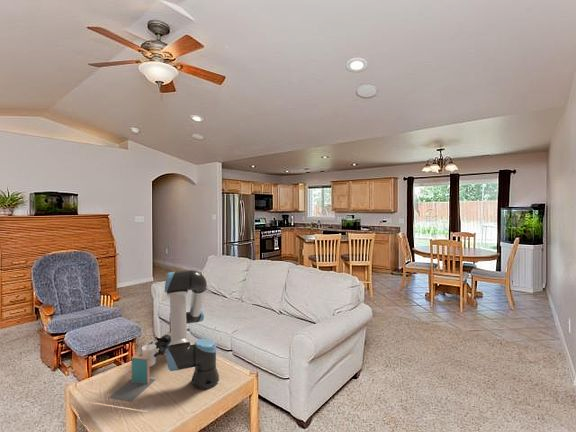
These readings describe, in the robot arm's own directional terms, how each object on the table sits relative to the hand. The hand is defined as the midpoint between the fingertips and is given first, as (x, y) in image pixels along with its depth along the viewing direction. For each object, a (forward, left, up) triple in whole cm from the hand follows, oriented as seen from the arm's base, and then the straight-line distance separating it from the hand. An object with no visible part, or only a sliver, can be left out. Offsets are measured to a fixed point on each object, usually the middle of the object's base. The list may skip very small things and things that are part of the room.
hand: (143, 357), depth 173 cm
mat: (-1, +9, -13) cm, 16 cm away
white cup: (0, -5, -6) cm, 8 cm away
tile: (0, +3, -12) cm, 13 cm away
